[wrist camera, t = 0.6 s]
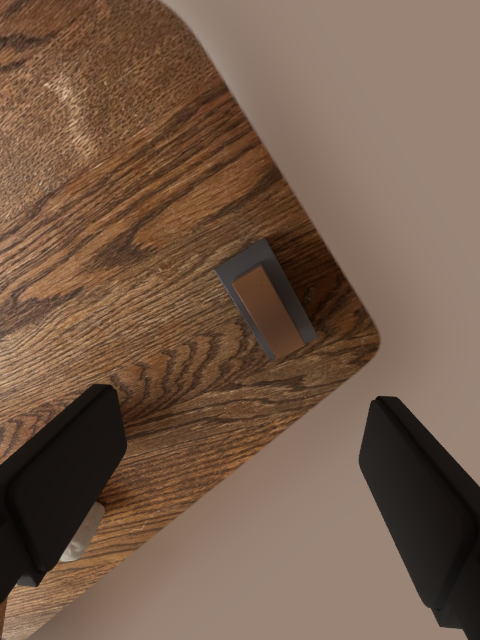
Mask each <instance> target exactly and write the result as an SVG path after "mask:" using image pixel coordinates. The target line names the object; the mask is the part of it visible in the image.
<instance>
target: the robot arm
mask: <svg viewBox="0 0 480 640" xmlns="http://www.w3.org/2000/svg"><path fill="white" fill-rule="evenodd" d="M126 449H127V441H126V436H125V431H124V426H123V420H122V415H121V410H120V405H119V400H118V394H117V391H116V389H113V387H112V385H107V384H94V385H92V386H91V387H89V388H88V389H87V390H86V391H85V392H84V393H83V394H81V395H80V396H79V397H78V398H77V399H76V400H75V401H73V402H72V403H71V404H70V405H69V406H68V407H66V408H65V409H64V410H63V411H62V412H61V413H60V414H58V415H57V416H56V417H55V418H54V419H53V420H52V421H50V422H49V423H48V424H47V425H46V426H45V427H43V428H42V429H41V430H40V431H39V432H38V433H37V434H35V435H34V436H33V437H32V438H31V439H30V440H29V441H27V442H26V443H25V444H24V445H23V446H22V447H20V448H19V449H18V450H17V451H16V452H15V453H14V454H12V455H11V456H10V457H9V458H8V459H7V460H6V461H4V462H3V463H2V464H1V465H0V640H1V638H2V631H3V624H4V617H5V610H6V604H7V597H8V595H9V593H10V592H11V590H12V589H13V587H14V586H15V585H16V583H17V584H18V585H22V586H32V587H38V585H39V584H40V582H41V581H42V579H43V577H44V576H45V574H46V573H47V572H49V571H50V570H52V569H53V568H54V567H55V566H56V564H57V563H58V561H59V560H60V558H61V556H62V555H63V553H64V551H65V550H66V548H67V547H68V545H69V543H70V542H71V540H72V539H73V537H74V535H75V534H76V532H77V531H78V529H79V527H80V526H81V524H82V522H83V521H84V519H85V518H86V516H87V514H88V513H89V511H90V510H91V508H92V506H93V505H94V503H95V501H96V500H97V498H98V497H99V495H100V493H101V492H102V490H103V489H104V487H105V485H106V484H107V482H108V480H109V479H110V477H111V476H112V474H113V472H114V471H115V469H116V468H117V466H118V464H119V463H120V461H121V460H122V458H123V456H124V455H125V452H126ZM359 465H360V469H361V471H362V473H363V475H364V477H365V479H366V482H367V484H368V486H369V488H370V490H371V493H372V495H373V497H374V499H375V501H376V503H377V506H378V507H379V510H380V512H381V514H382V516H383V518H384V521H385V523H386V525H387V527H388V529H389V532H390V534H391V536H392V538H393V540H394V542H395V545H396V547H397V549H398V551H399V553H400V555H401V558H402V560H403V562H404V564H405V566H406V568H407V570H408V573H409V575H410V577H411V579H412V581H413V583H414V585H415V588H416V590H417V592H418V594H419V596H420V598H421V600H422V602H423V603H424V604H425V605H426V606H427V607H428V608H431V610H432V612H433V614H434V616H435V618H436V620H437V622H438V624H439V626H440V627H446V628H458V629H463V631H464V632H465V635H466V636H467V638H468V640H480V487H479V486H478V484H477V483H476V482H475V481H474V480H473V479H472V478H471V477H470V476H469V475H468V474H467V473H466V471H464V469H463V468H462V467H461V466H460V465H459V464H458V463H457V462H456V461H455V459H454V458H453V457H452V456H451V455H450V454H449V453H448V452H447V451H446V450H445V448H444V447H442V445H441V444H440V443H439V442H438V441H437V440H436V439H435V438H434V437H433V435H432V434H431V433H430V432H429V431H428V430H427V429H426V428H425V427H424V426H423V424H422V423H421V422H420V421H419V420H418V419H417V418H416V417H415V416H414V415H413V414H412V413H411V411H410V410H409V409H408V408H407V407H406V406H405V405H404V404H403V403H402V402H401V400H400V399H398V398H397V397H390V396H378V397H377V398H376V399H375V400H372V401H371V404H370V408H369V413H368V418H367V422H366V426H365V431H364V436H363V441H362V445H361V449H360V454H359Z"/></svg>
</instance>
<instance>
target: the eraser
mask: <svg viewBox="0 0 480 640" xmlns="http://www.w3.org/2000/svg"><path fill="white" fill-rule="evenodd" d="M214 271H215V273H216V274H217V276H218V278H219V279H220V281H221V282H222V284H223V286H224V287H225V289H226V290H227V292H228V294H229V295H230V297H231V299H232V300H233V302H234V303H235V305H236V307H237V308H238V310H239V311H240V313H241V315H242V316H243V318H244V320H245V321H246V323H247V324H248V326H249V328H250V329H251V331H252V332H253V334H254V336H255V337H256V339H257V341H258V342H259V344H260V345H261V347H262V349H263V350H264V352H265V353H266V355H267V357H268V358H269V360H270V361H271V360H273V359H275V358H277V359H279V358H281V357H283V356H285V355H287V354H289V353H291V352H293V351H295V350H297V349H299V348H301V347H303V346H305V345H306V344H305V343H308V342H310V341H312V340H314V339H316V338H318V335H317V333H316V331H315V329H314V327H313V325H312V324H311V322H310V320H309V318H308V316H307V314H306V312H305V311H304V309H303V307H302V305H301V303H300V301H299V299H298V298H297V296H296V294H295V292H294V290H293V288H292V286H291V285H290V283H289V281H288V279H287V277H286V275H285V273H284V272H283V270H282V268H281V266H280V264H279V262H278V260H277V259H276V257H275V255H274V253H273V251H272V249H271V247H270V246H269V244H268V242H267V240H266V238H265V237H264V238H262V239H261V240H259V241H257V242H256V243H254V244H253V245H251V246H249V247H248V248H246V249H245V250H243V251H241V252H240V253H238V254H237V255H235V256H233V257H232V258H230V259H229V260H227V261H225V262H224V263H222V264H221V265H219V266H217V267H216V268H214Z"/></svg>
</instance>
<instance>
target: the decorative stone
mask: <svg viewBox="0 0 480 640" xmlns="http://www.w3.org/2000/svg"><path fill="white" fill-rule="evenodd" d="M104 514H105V508H104V507H103V505H102V504H100V503H98V502H96V501H95V503H94V505H93V506H92V508H91V510H90V511H89V513H88V514H87V516H86V518H85V519H84V521H83V522H82V524H81V526H80V527H79V529H78V531H77V532H76V534H75V535H74V537H73V539H72V540H71V542H70V543H69V545H68V547H67V548H66V550H65V551H64V553H63V555H62V556H61V558H60V560H61V561H64V562H65V561H73V560H77V559H79V558H80V557H81V556H82V554H83V553H84V552H85V550H86V549H87V548H88V546H89V544H90V542H91V539H92V537H93V536H94V534H95V532H96V530H97V528H98V526H99V524H100V522H101V520H102V518H103V516H104Z"/></svg>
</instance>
